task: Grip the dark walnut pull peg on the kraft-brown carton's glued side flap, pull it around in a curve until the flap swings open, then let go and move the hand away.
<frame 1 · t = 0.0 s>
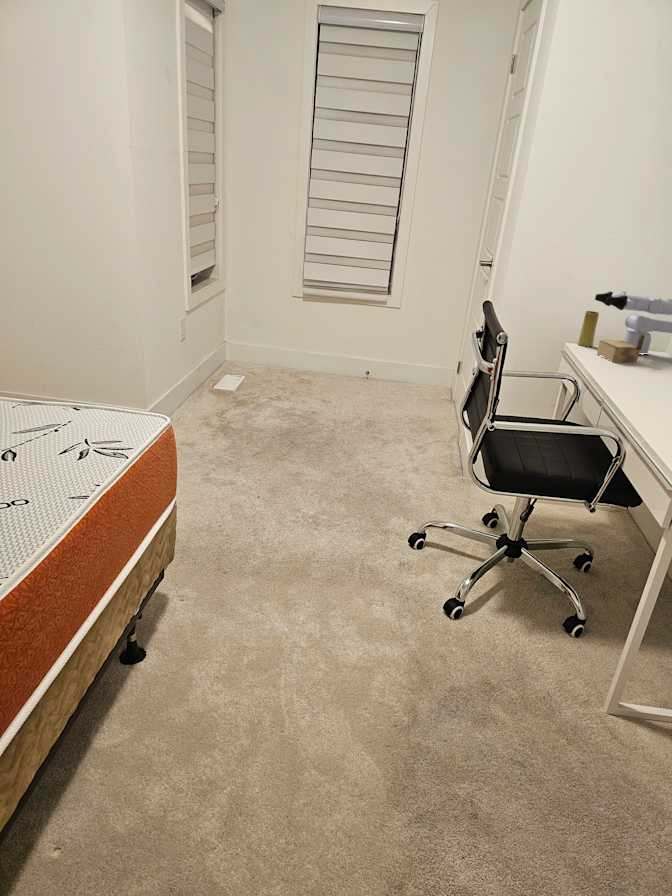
hand: (601, 298, 242), 22 cm above the table, tool horizontal, fingers open, 7 cm apart
flap: (629, 348, 234), point 6 cm above the table, hinge at 0.0°
vase: (584, 345, 262), on the table
carton: (615, 358, 242), on the table
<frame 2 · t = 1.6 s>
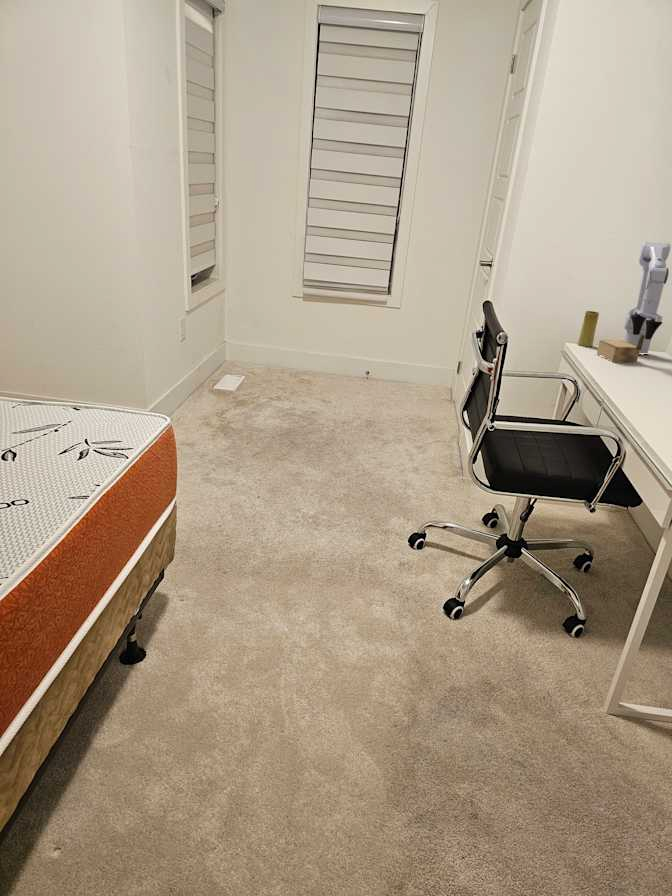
hand: (641, 336, 233), 10 cm above the table, tool pointing down, fingers open, 7 cm apart
nothing on the table moved.
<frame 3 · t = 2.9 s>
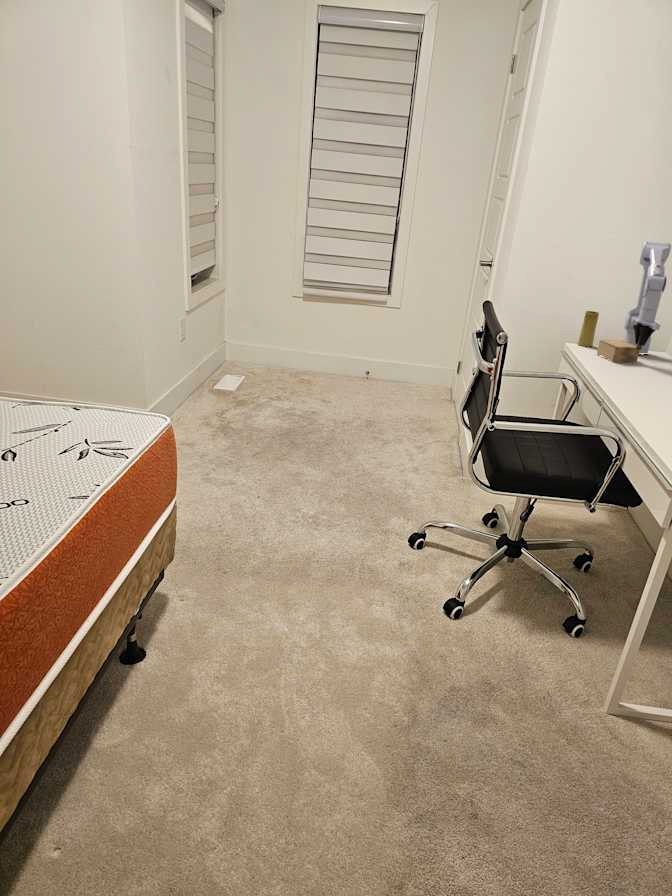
hand: (639, 344, 234), 7 cm above the table, tool pointing down, fingers closed on flap, 2 cm apart
flap: (629, 348, 234), point 6 cm above the table, hinge at 0.0°, touching gripper
everything else where it was.
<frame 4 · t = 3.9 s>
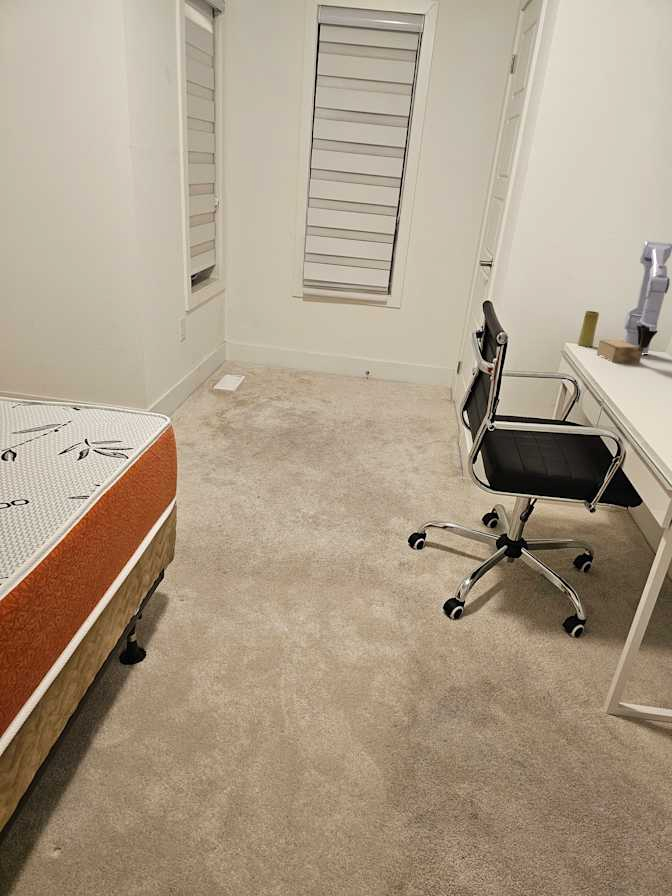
hand: (642, 346, 231), 7 cm above the table, tool pointing down, fingers open, 3 cm apart
flap: (630, 349, 233), point 6 cm above the table, hinge at 13.0°, touching gripper
everything else where it was.
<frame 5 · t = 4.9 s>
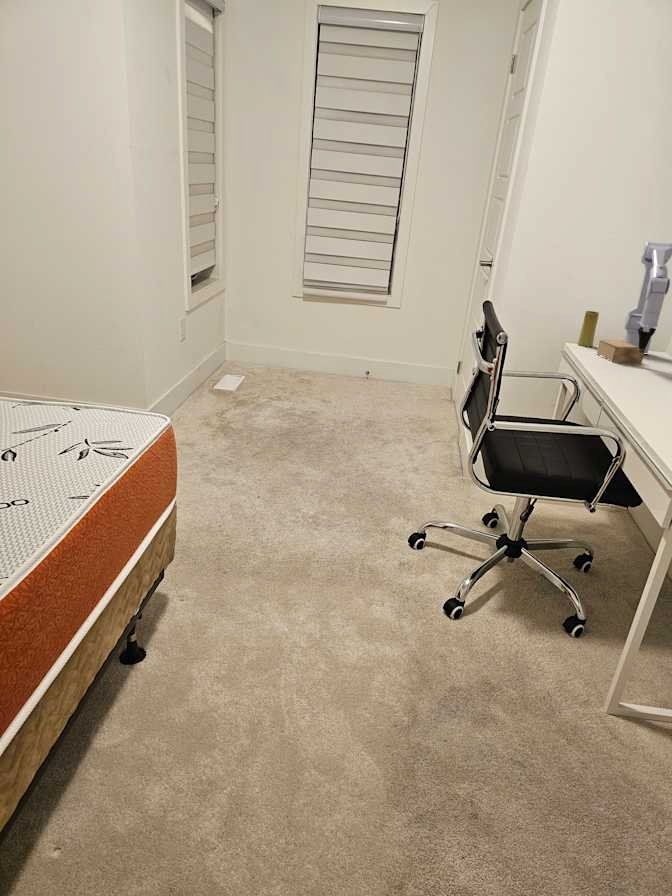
hand: (642, 347, 229), 7 cm above the table, tool pointing down, fingers open, 3 cm apart
flap: (630, 350, 232), point 6 cm above the table, hinge at 31.9°, touching gripper
everything else where it was.
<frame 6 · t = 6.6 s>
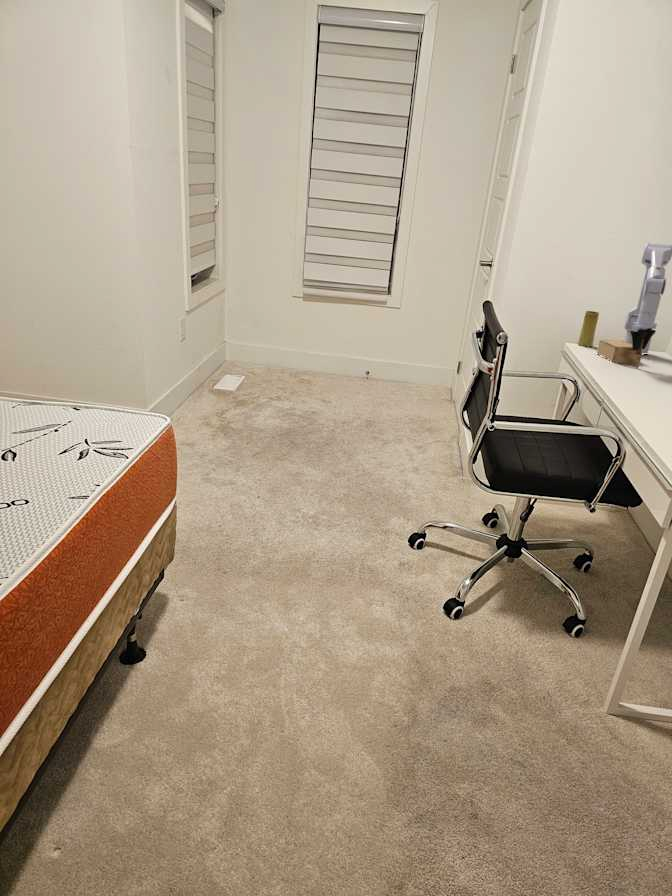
hand: (638, 349, 226), 7 cm above the table, tool pointing down, fingers open, 4 cm apart
flap: (627, 351, 230), point 6 cm above the table, hinge at 59.4°
everything else where it was.
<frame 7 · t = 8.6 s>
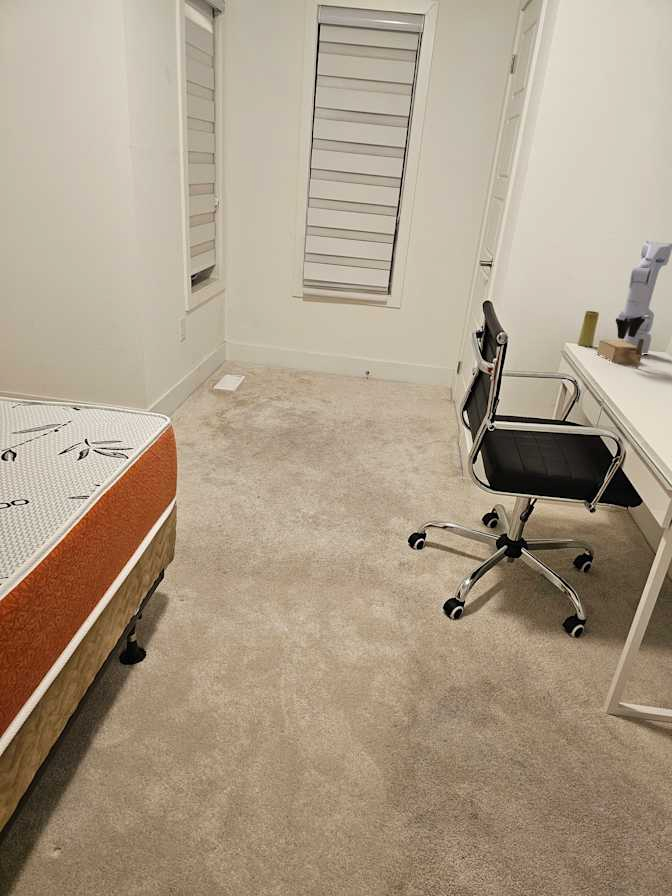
hand: (626, 337, 230), 10 cm above the table, tool pointing down, fingers open, 7 cm apart
nothing on the table moved.
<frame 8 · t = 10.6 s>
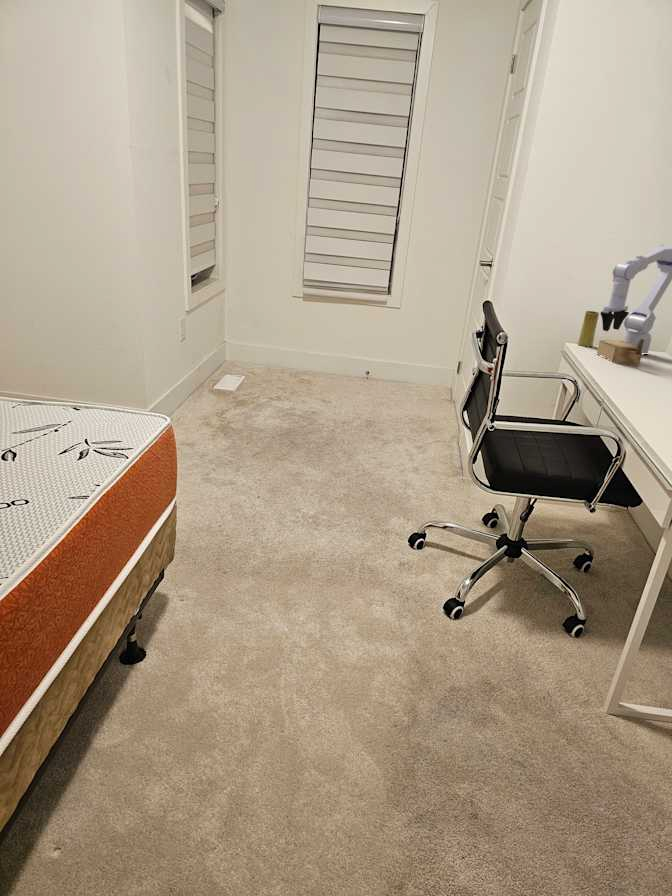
hand: (610, 329, 242), 10 cm above the table, tool pointing down, fingers open, 7 cm apart
nothing on the table moved.
at the end: flap at +59° (first picture: +0°); the gripper is holding nothing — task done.
